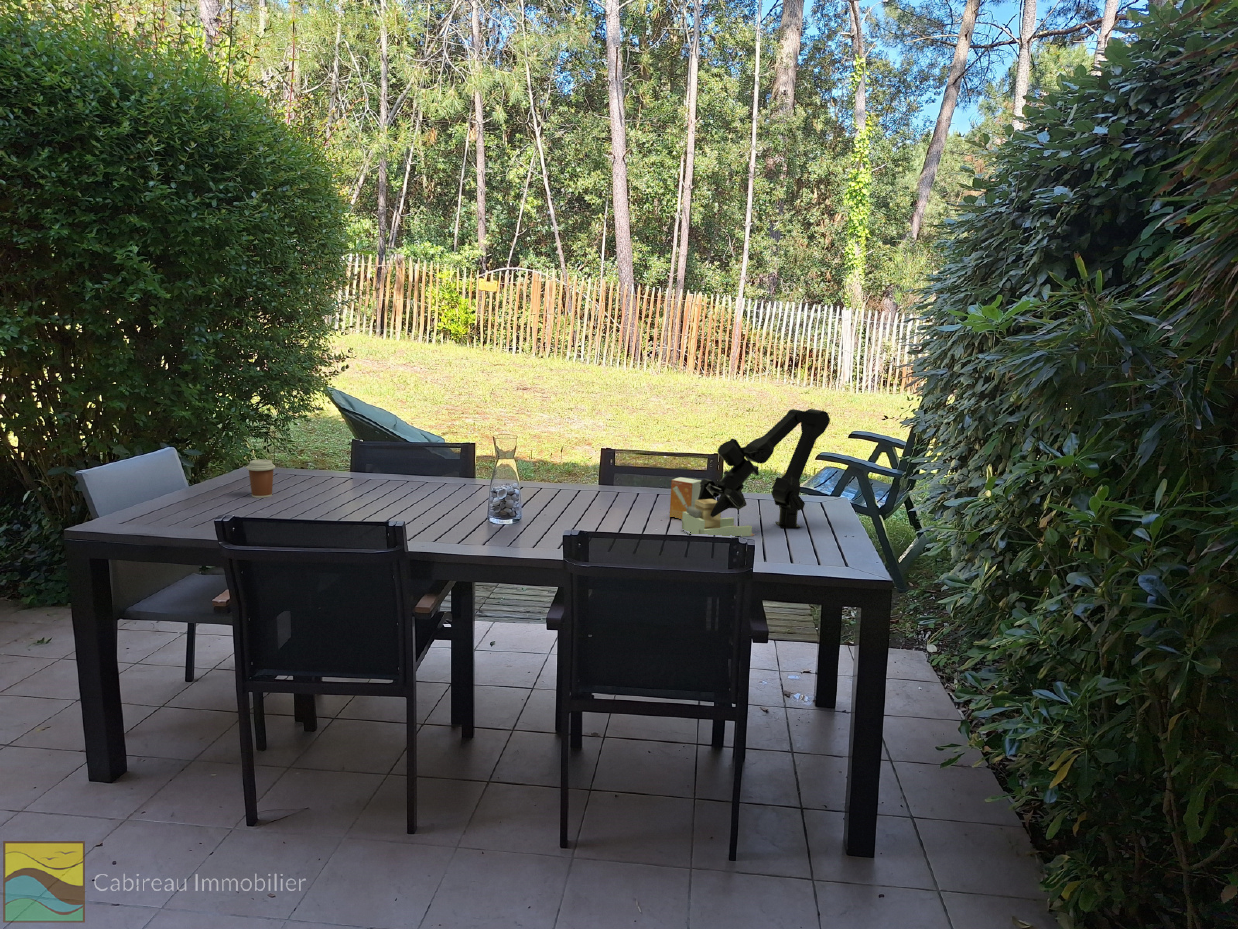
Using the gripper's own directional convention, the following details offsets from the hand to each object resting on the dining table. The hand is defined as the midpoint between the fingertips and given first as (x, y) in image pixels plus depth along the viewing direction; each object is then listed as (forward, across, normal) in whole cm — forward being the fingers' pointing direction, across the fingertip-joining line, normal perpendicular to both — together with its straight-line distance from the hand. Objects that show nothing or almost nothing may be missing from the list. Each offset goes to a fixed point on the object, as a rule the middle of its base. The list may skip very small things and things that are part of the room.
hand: (703, 512), depth 270 cm
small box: (+2, +20, -8) cm, 22 cm away
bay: (+1, 0, -8) cm, 8 cm away
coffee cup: (+92, +88, +81) cm, 151 cm away
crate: (+4, 0, -6) cm, 7 cm away
